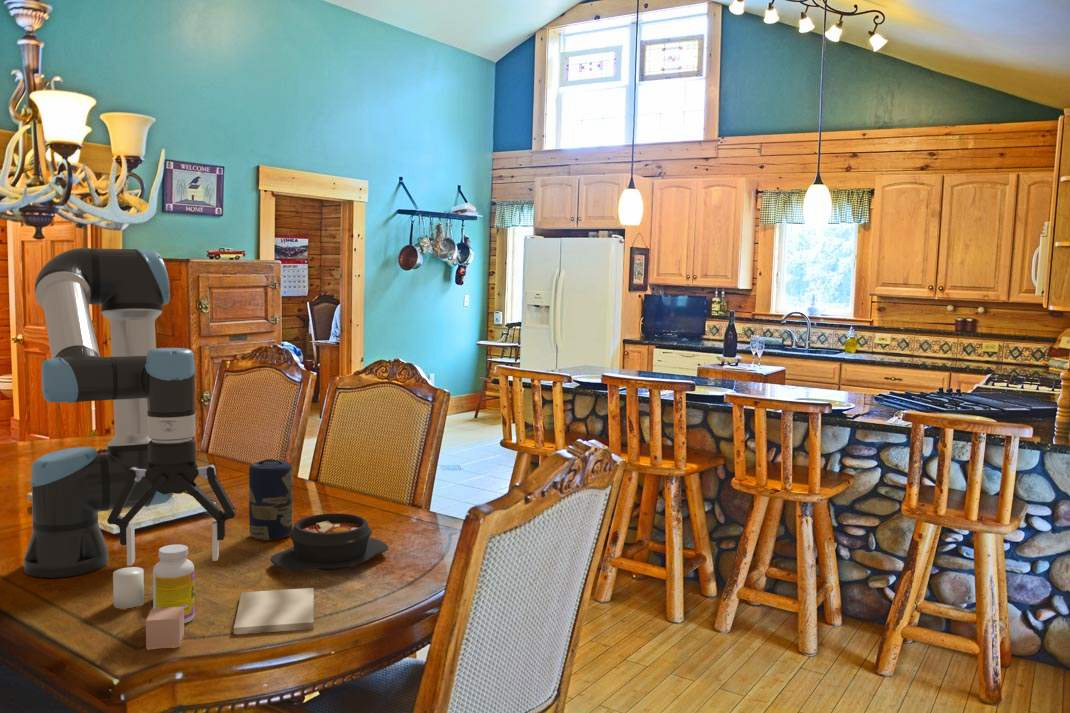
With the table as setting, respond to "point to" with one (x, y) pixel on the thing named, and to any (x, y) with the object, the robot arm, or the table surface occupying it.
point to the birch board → (275, 611)
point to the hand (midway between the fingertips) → (173, 560)
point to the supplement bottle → (174, 580)
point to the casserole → (329, 543)
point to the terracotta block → (164, 627)
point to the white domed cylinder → (128, 587)
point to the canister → (270, 499)
